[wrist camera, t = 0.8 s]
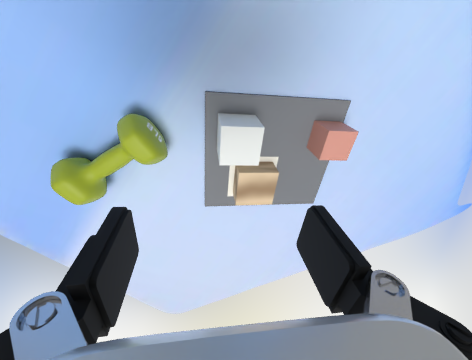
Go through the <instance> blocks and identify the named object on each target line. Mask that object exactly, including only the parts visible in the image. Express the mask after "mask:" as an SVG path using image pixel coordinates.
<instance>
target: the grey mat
mask: <svg viewBox="0 0 472 360" xmlns="http://www.w3.org/2000/svg"><path fill="white" fill-rule="evenodd" d="M350 102H351V101H350V100H334V99H318V98H302V97H286V96H270V95H253V94H237V93H221V92H205V206H235V201H234V196H233V184H234V174H235V165H219V159H218V153H217V130H218V113H225V114H247V115H256V117H257V118H258V119H259V121H260V122H261V123H262V125H263V126H264V127H265V129H264V135H263V141H262V147H261V153H260V159H259V162H273V163H274V165H275V167H276V168H277V170H278V172H279V176H278V180H277V185H276V189H275V193H274V198H273V202H272V204H306V203H314V200H315V197H316V194H317V192H318V189H319V186H320V184H321V181H322V178H323V175H324V173H325V170H326V167H327V165H328V162H329V160H319V159H318V158H317V157H316V156H315V155H314V154H313V153H312V152H311V151H310V150H309V149H308V148H307V144H308V141H309V137H310V134H311V130H312V127H313V124H314V121H338V122H342V123H343V121H344V119H345V116H346V113H347V110H348V108H349V105H350ZM265 205H270V204H265Z"/></svg>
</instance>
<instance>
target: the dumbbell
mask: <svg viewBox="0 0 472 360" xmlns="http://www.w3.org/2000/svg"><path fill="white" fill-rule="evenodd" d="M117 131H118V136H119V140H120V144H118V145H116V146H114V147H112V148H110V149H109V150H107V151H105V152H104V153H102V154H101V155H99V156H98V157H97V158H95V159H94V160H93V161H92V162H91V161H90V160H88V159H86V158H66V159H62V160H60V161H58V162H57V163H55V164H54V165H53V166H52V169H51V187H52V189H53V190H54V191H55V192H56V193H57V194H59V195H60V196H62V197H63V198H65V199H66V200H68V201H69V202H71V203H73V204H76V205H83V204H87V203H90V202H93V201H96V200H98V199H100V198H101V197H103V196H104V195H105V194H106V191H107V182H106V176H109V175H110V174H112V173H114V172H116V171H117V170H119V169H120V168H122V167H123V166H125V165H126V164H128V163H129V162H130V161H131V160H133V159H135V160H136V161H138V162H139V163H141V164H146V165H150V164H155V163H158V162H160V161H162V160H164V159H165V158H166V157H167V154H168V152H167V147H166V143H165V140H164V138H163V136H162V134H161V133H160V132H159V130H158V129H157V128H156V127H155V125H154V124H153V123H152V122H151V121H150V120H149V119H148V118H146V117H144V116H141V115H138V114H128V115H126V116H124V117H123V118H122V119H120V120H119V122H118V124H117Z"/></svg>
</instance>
